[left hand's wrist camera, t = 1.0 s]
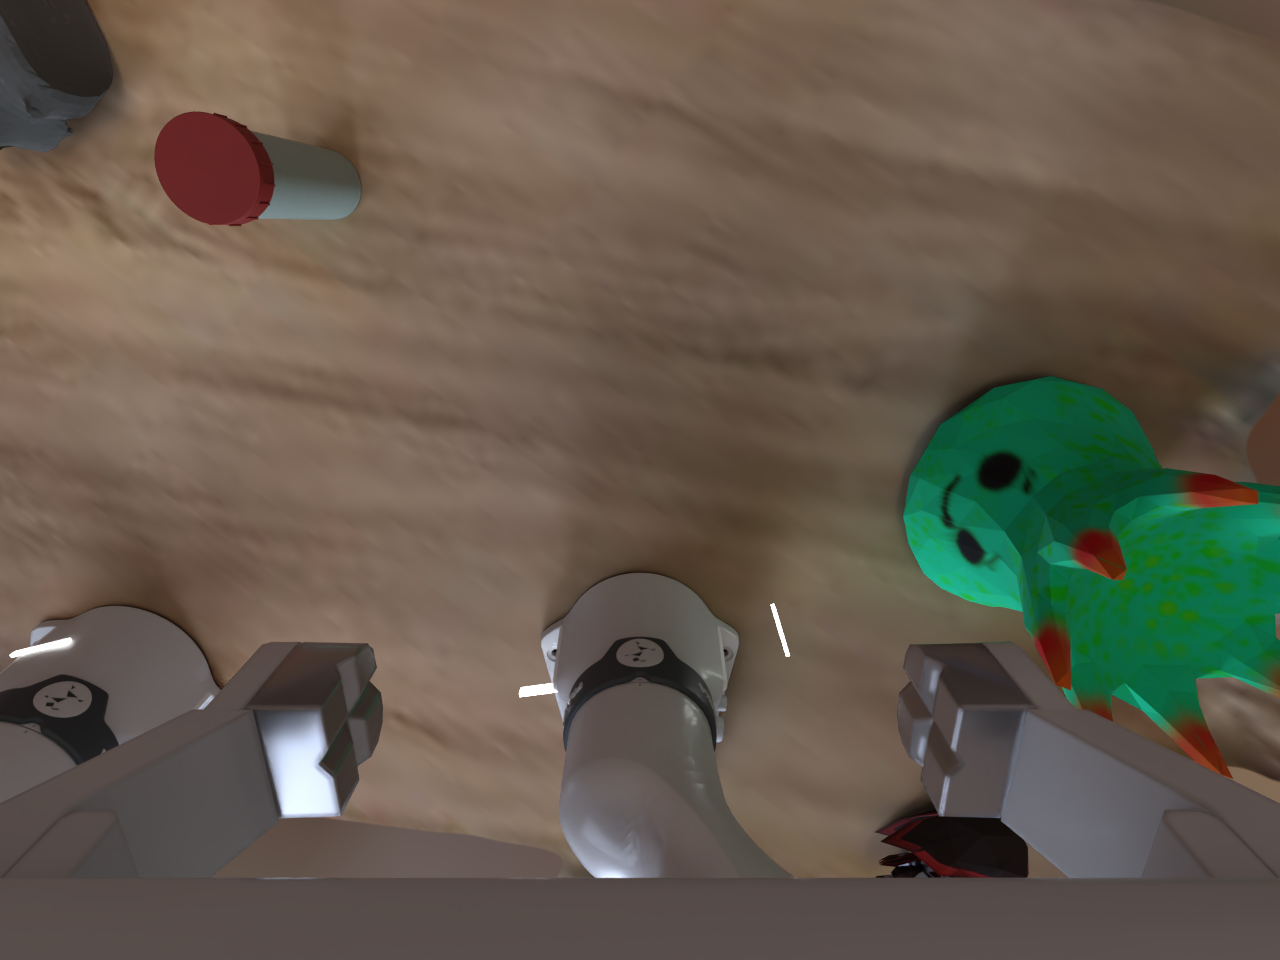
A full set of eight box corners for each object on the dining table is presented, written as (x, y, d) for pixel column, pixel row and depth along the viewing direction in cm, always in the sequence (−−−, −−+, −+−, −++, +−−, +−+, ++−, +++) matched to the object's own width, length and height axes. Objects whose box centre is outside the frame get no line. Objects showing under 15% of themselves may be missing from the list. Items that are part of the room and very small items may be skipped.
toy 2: (950, 349, 56) (1170, 439, 33) (1175, 404, 58) (1538, 526, 35) (865, 567, 63) (998, 769, 40) (1069, 611, 65) (1312, 829, 42)
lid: (164, 112, 38) (144, 107, 37) (269, 118, 38) (253, 114, 37) (182, 222, 40) (163, 222, 39) (281, 228, 40) (266, 228, 39)
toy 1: (911, 959, 63) (1067, 899, 62) (862, 851, 67) (1009, 792, 66) (894, 922, 74) (1026, 870, 73) (852, 830, 78) (978, 780, 77)
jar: (292, 146, 51) (158, 117, 37) (358, 151, 52) (251, 123, 37) (299, 217, 53) (174, 215, 39) (363, 221, 53) (262, 220, 39)
